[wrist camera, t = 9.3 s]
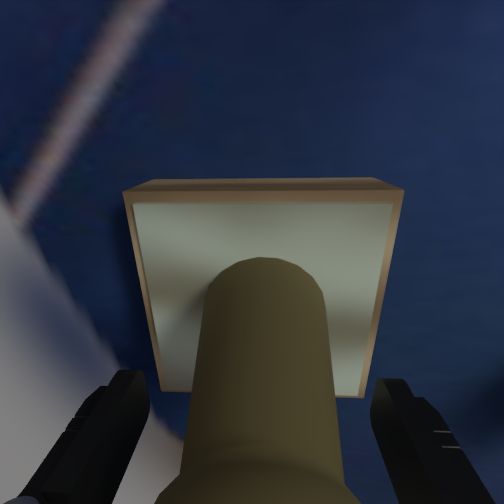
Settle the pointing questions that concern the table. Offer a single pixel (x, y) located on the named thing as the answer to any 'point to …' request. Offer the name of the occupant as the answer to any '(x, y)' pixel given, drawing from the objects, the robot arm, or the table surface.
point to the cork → (262, 394)
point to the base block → (263, 245)
